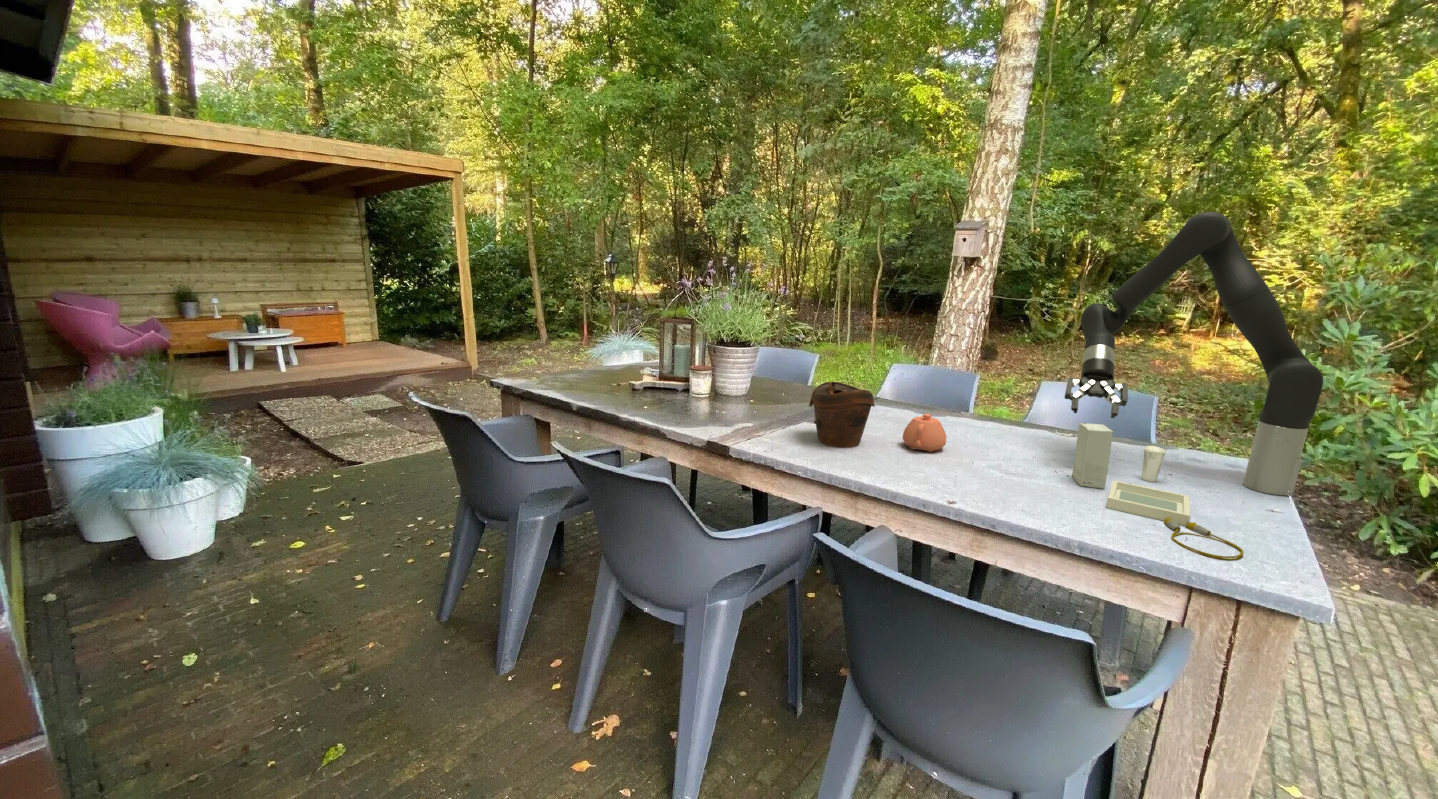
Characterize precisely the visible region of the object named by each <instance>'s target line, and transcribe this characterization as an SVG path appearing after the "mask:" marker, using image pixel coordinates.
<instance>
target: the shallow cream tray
mask: <svg viewBox="0 0 1438 799" xmlns="http://www.w3.org/2000/svg"><path fill="white" fill-rule="evenodd" d="M1190 504H1191V503H1190V495H1187V494H1183V493H1182V494H1181V493H1177V492H1173V491H1168V490H1164V489H1158V488H1155V487H1154V488H1153V487H1149V486H1143V485H1138V484H1133V483H1128V482H1125V481H1119V480H1114V479H1113V480H1112V483H1111V486H1110V490H1109V493H1108V496H1107V501H1106V505H1105V508H1107V509H1110V510H1114V511H1119V512H1124V513H1129V514H1132V515H1133V514H1134V515H1138V516H1140V517H1141V516H1142V517H1145V518H1150V519H1154V520H1159V521H1163V522H1164V520H1165V519H1166V518H1170V519H1172V520H1173V521H1175V522H1176V523H1177V524H1178V525H1179V526H1184V527H1185V526H1186V524H1187V523H1188V522H1190V518H1191V507H1190V506H1191V505H1190Z"/></svg>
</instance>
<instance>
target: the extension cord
mask: <svg viewBox="0 0 1438 799" xmlns="http://www.w3.org/2000/svg"><path fill="white" fill-rule="evenodd" d="M1163 524H1164V525H1166V527H1167V528H1169V529H1170V530H1172V531H1174V532H1173V533H1172V534H1171V536H1170V537H1171V541H1173V542H1174V543H1175V544H1177V545H1178V546H1180V547H1182V548H1184V549H1185V550H1187V551H1190V552H1191V553H1195V554H1197V555H1202V556H1204V557H1208V558H1213V559H1215V560H1216V559H1217V560H1223V561H1237V560H1240V559H1241V558H1242V557H1243V555H1244V552H1245V551H1244V550H1243V548H1242V547H1240V546H1238V545H1237V544H1234V543H1233V542H1231V541H1229V540H1227V539H1224V538H1222V537H1219V536H1217V535H1215V534H1213V533H1212V532H1211V530H1209V529H1207V528H1205V527H1203V526H1202V525H1199V524H1197V523H1196V522H1191V521H1189V522H1188V523H1187V524H1186V526H1184V527H1185V529H1188V530H1189V531H1191V532H1195V533H1190V532H1185V531H1183V532H1180V531H1181V526H1182V525H1180V524H1177V523H1176V522H1175V521H1173V520H1172V519H1170V518H1166V519H1165V520H1164V521H1163ZM1196 533H1197V534H1196ZM1179 535H1189V536H1195V537H1201V538H1204V539H1205V538H1206V539H1209V540H1213V541H1216V542H1219V543H1223V544H1226V545H1229V546H1231V547H1233V548H1235V549H1236V550H1238V551H1239V552H1240V553H1239V554H1238V555H1233V556H1231V555H1230V556H1229V555H1228V556H1227V555H1217V554H1212V553H1209V552H1205V551H1201V550H1198V549H1195V548H1193V547H1190V546H1188V545H1187V544H1184V543H1182V542H1180V541H1178V540H1177V539H1176V538H1174V537H1176V536H1179Z"/></svg>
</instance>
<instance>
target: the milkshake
mask: <svg viewBox="0 0 1438 799" xmlns="http://www.w3.org/2000/svg"><path fill="white" fill-rule="evenodd" d="M1170 446H1171V444H1170V443H1169V444H1168V445H1167V446H1166V447H1165V449H1164V448H1162V447H1159V446H1156V445H1146V446H1145V447H1144V448H1143V449H1144V450H1143V458H1142V459H1143V460H1142V468H1141V475H1140V476H1141V480H1143V481H1146V482H1150V483H1153V482H1155V483H1156V482H1157V480H1158V477H1159V474H1160V470H1161V468H1162V464H1163V461H1164V458H1165V455H1166V452H1167V450H1168V448H1170Z"/></svg>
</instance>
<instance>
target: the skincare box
mask: <svg viewBox="0 0 1438 799" xmlns="http://www.w3.org/2000/svg"><path fill="white" fill-rule="evenodd" d="M1077 432H1078V433H1077V439H1076V445H1075V454H1074V459H1073V467H1072V473H1071V477H1072V478H1073V479H1074V480H1075V481H1076V483H1077V484H1078V485H1079V486H1080V487H1081V486H1082V487H1088V488H1095V489H1102V490H1104V489H1105V488H1106V482H1107V475H1108V470H1109V463H1110V462H1109V461H1110V455H1111V448H1112V442H1113V436H1114V431H1113V430H1112V429H1110V428H1109V427H1108V426H1106V425H1105V424H1099V423H1085V422H1080V423H1079V425H1078V431H1077Z"/></svg>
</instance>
